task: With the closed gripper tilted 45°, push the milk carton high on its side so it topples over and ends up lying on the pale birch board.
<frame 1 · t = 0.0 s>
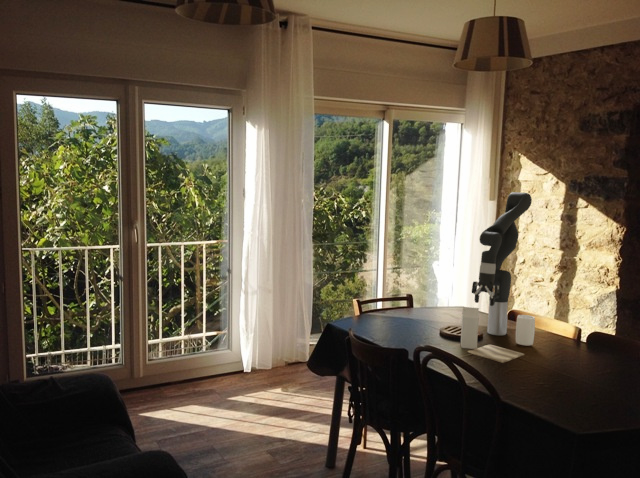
hand: (484, 304, 280), 17 cm above the table, tool pointing down, fingers open, 8 cm apart
birch board: (495, 353, 256), on the table
cup: (524, 345, 270), on the table
milk carton: (468, 347, 266), on the table
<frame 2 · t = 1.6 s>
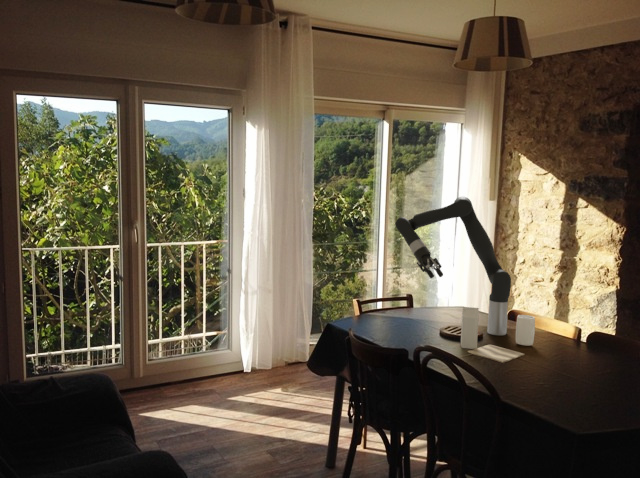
hand: (437, 276, 278), 31 cm above the table, tool tilted 45°, fingers open, 6 cm apart
nothing on the table moved.
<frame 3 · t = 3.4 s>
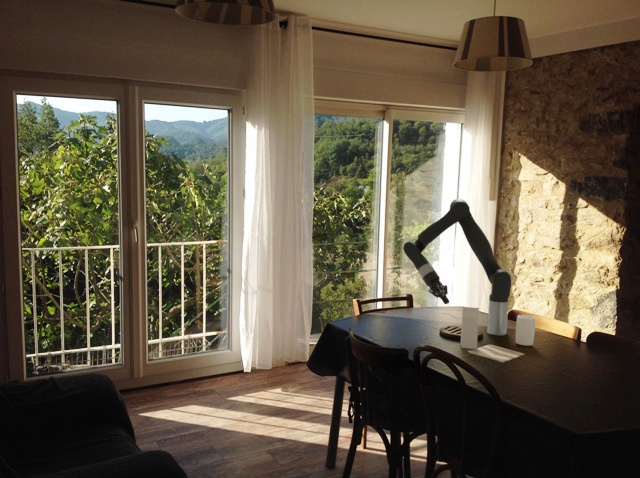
hand: (447, 303, 274), 18 cm above the table, tool tilted 45°, fingers closed
nothing on the table moved.
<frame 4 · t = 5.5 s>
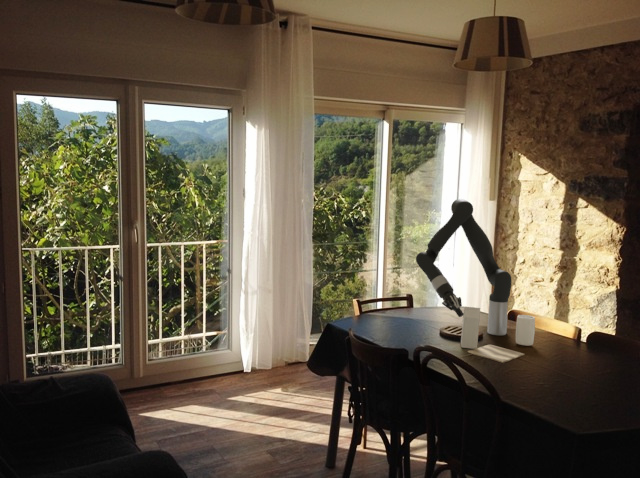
hand: (461, 315, 268), 14 cm above the table, tool tilted 45°, fingers closed
nothing on the table moved.
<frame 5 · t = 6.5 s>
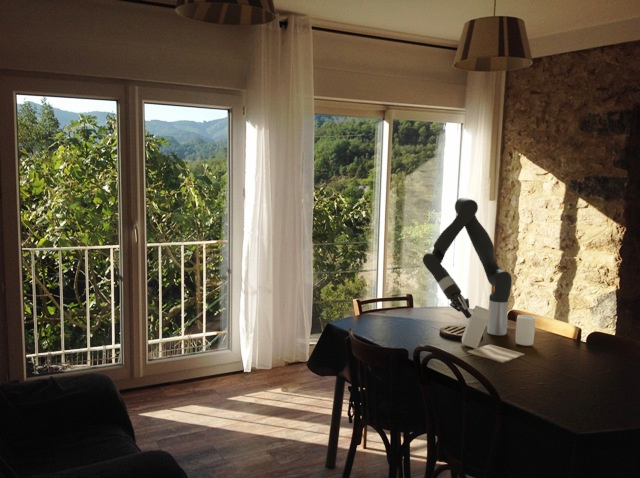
hand: (469, 317, 265), 14 cm above the table, tool tilted 45°, fingers closed
milk carton: (468, 344, 266), point 1 cm above the table, touching birch board, gripper
everything else where it was.
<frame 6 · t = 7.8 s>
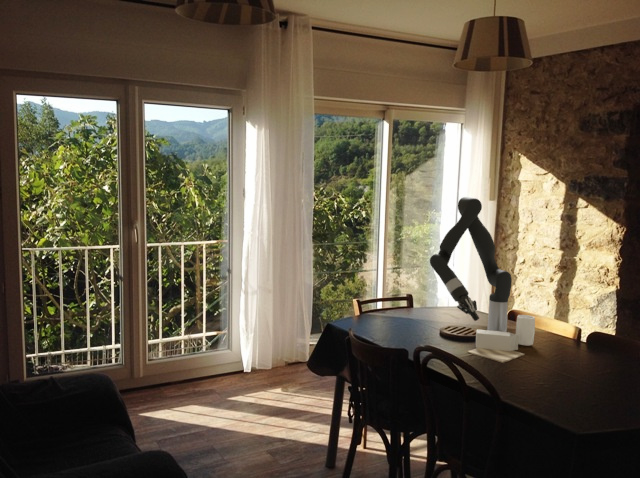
hand: (477, 319, 262), 14 cm above the table, tool tilted 45°, fingers closed
milk carton: (475, 338, 265), point 4 cm above the table, touching birch board
everything else where it was.
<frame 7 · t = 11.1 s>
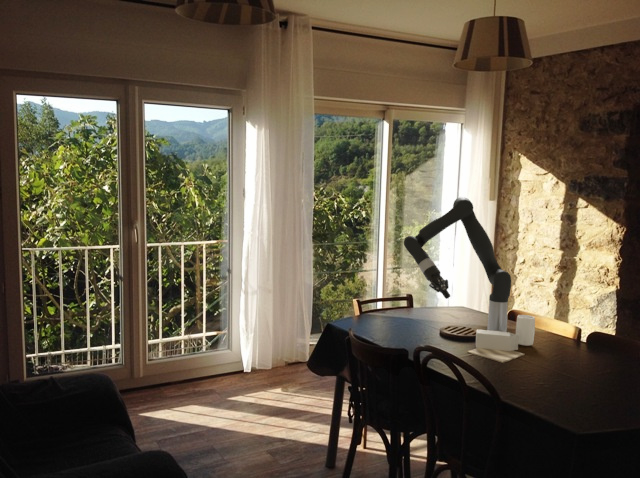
hand: (448, 297, 273), 21 cm above the table, tool tilted 45°, fingers closed
nothing on the table moved.
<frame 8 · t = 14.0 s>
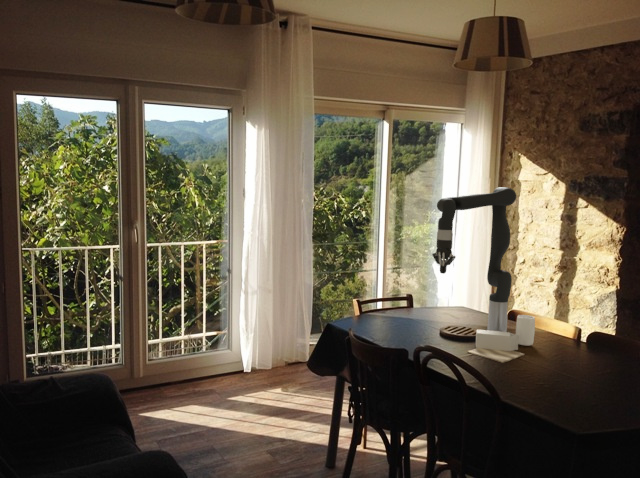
hand: (442, 273, 280), 32 cm above the table, tool pointing down, fingers closed
nothing on the table moved.
at the end: milk carton tilted 90°; milk carton touching birch board; the gripper is holding nothing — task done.
